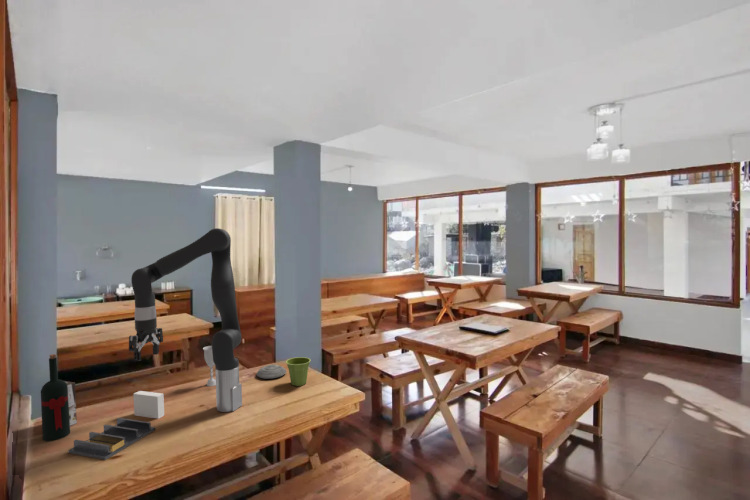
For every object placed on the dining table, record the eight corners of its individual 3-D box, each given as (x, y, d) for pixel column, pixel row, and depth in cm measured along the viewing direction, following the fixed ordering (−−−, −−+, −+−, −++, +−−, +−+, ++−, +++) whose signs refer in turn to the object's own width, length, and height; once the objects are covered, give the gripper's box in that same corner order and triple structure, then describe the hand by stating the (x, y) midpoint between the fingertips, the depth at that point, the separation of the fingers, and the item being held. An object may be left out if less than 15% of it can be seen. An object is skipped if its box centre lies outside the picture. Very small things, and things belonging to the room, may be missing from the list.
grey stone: (261, 370, 209) (261, 360, 209) (289, 370, 209) (289, 360, 208) (252, 380, 194) (251, 370, 194) (282, 381, 194) (281, 370, 193)
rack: (155, 429, 146) (155, 420, 146) (105, 460, 127) (105, 449, 127) (121, 424, 150) (121, 415, 150) (68, 453, 131) (68, 442, 131)
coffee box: (77, 422, 152) (75, 382, 152) (59, 430, 146) (57, 388, 146) (62, 419, 155) (60, 379, 155) (43, 427, 149) (41, 385, 149)
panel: (164, 415, 158) (163, 393, 157) (158, 418, 155) (157, 396, 154) (140, 412, 161) (139, 390, 161) (134, 415, 158) (133, 393, 158)
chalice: (222, 382, 191) (221, 346, 191) (211, 387, 185) (210, 350, 184) (212, 380, 194) (210, 345, 194) (200, 385, 188) (199, 348, 188)
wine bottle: (45, 446, 136) (41, 361, 134) (41, 436, 142) (36, 355, 141) (73, 437, 141) (69, 355, 140) (68, 428, 148) (64, 350, 147)
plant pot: (316, 382, 190) (315, 360, 189) (296, 390, 181) (295, 366, 181) (301, 377, 198) (300, 355, 197) (281, 384, 189) (280, 361, 188)
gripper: (137, 322, 148) (139, 364, 149) (167, 314, 162) (168, 352, 163) (122, 320, 150) (124, 362, 151) (152, 313, 164) (154, 351, 165)
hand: (147, 357), depth 157 cm, fingers open, 8 cm apart
